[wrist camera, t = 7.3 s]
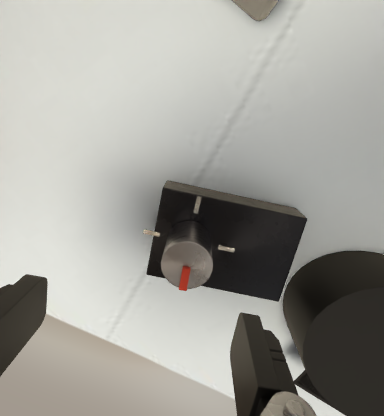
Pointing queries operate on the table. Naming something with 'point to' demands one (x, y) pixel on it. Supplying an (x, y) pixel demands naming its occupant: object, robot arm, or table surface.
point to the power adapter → (256, 7)
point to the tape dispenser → (340, 330)
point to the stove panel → (233, 237)
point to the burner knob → (187, 255)
